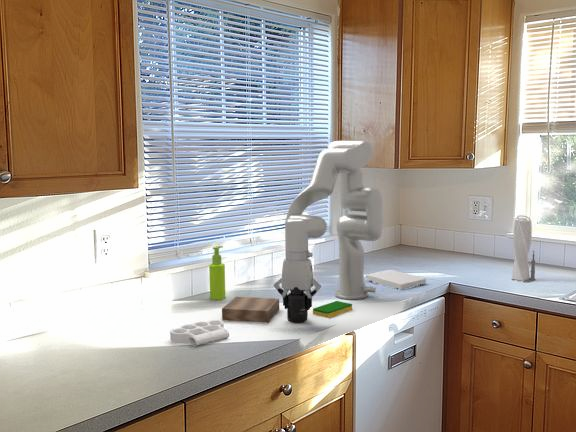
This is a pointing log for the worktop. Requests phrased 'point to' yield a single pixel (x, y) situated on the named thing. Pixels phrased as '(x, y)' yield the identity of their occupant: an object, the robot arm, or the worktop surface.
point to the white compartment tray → (199, 332)
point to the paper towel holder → (522, 250)
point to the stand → (250, 309)
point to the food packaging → (395, 279)
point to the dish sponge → (332, 309)
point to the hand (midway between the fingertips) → (297, 308)
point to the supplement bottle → (297, 306)
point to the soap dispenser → (217, 276)
